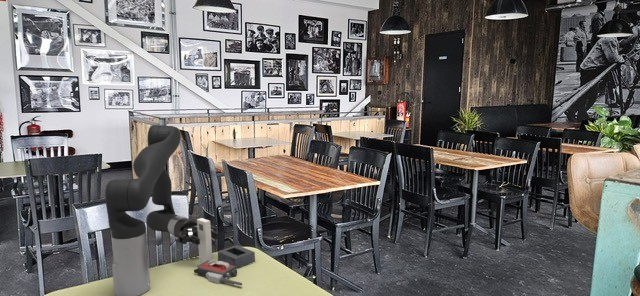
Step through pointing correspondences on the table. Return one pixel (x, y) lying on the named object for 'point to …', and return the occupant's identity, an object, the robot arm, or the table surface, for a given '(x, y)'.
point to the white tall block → (204, 240)
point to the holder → (236, 256)
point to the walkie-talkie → (217, 271)
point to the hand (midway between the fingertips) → (208, 239)
